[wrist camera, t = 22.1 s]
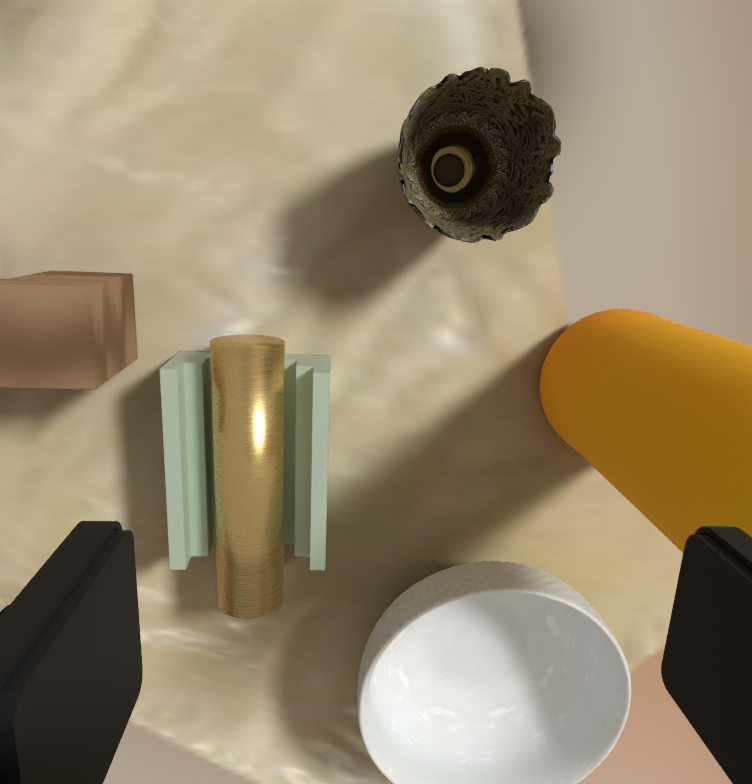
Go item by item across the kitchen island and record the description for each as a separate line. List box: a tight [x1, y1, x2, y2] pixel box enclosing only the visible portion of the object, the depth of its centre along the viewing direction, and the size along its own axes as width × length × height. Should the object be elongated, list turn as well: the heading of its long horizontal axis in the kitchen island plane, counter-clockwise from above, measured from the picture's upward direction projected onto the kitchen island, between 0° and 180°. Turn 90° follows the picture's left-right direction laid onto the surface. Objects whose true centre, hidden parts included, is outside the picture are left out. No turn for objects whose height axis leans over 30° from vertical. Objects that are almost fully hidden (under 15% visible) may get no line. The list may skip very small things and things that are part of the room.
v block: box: [160, 351, 330, 570], centre depth 37 cm, size 12×9×4 cm
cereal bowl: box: [357, 561, 631, 784], centre depth 41 cm, size 17×17×7 cm
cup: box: [397, 67, 561, 243], centre depth 32 cm, size 8×7×8 cm
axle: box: [210, 335, 285, 618], centre depth 36 cm, size 16×4×4 cm, turn 178°
